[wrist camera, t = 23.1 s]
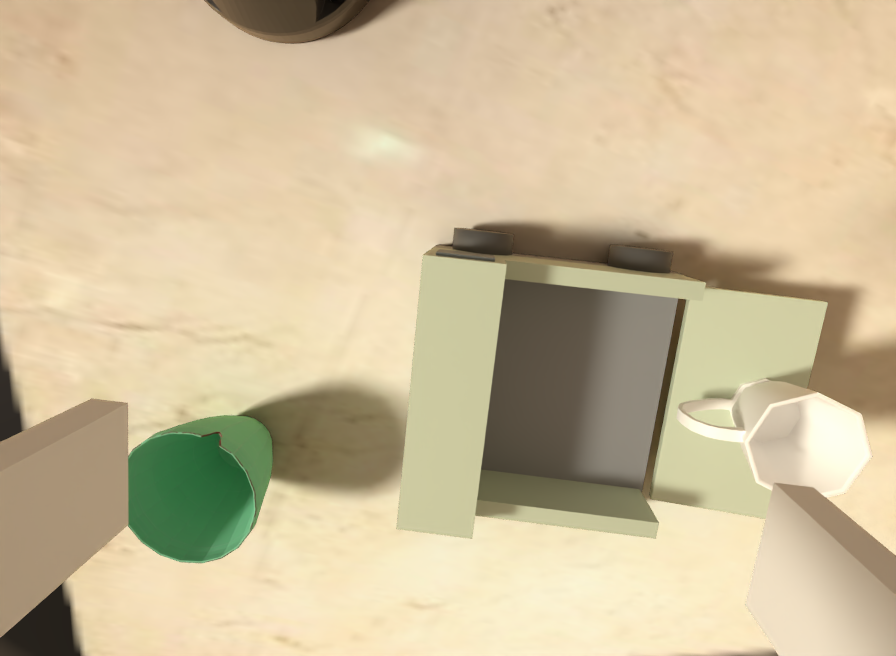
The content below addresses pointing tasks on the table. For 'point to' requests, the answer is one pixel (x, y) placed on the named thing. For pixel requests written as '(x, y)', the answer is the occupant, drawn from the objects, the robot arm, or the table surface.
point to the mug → (199, 487)
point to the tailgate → (729, 391)
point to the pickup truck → (536, 386)
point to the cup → (789, 435)
